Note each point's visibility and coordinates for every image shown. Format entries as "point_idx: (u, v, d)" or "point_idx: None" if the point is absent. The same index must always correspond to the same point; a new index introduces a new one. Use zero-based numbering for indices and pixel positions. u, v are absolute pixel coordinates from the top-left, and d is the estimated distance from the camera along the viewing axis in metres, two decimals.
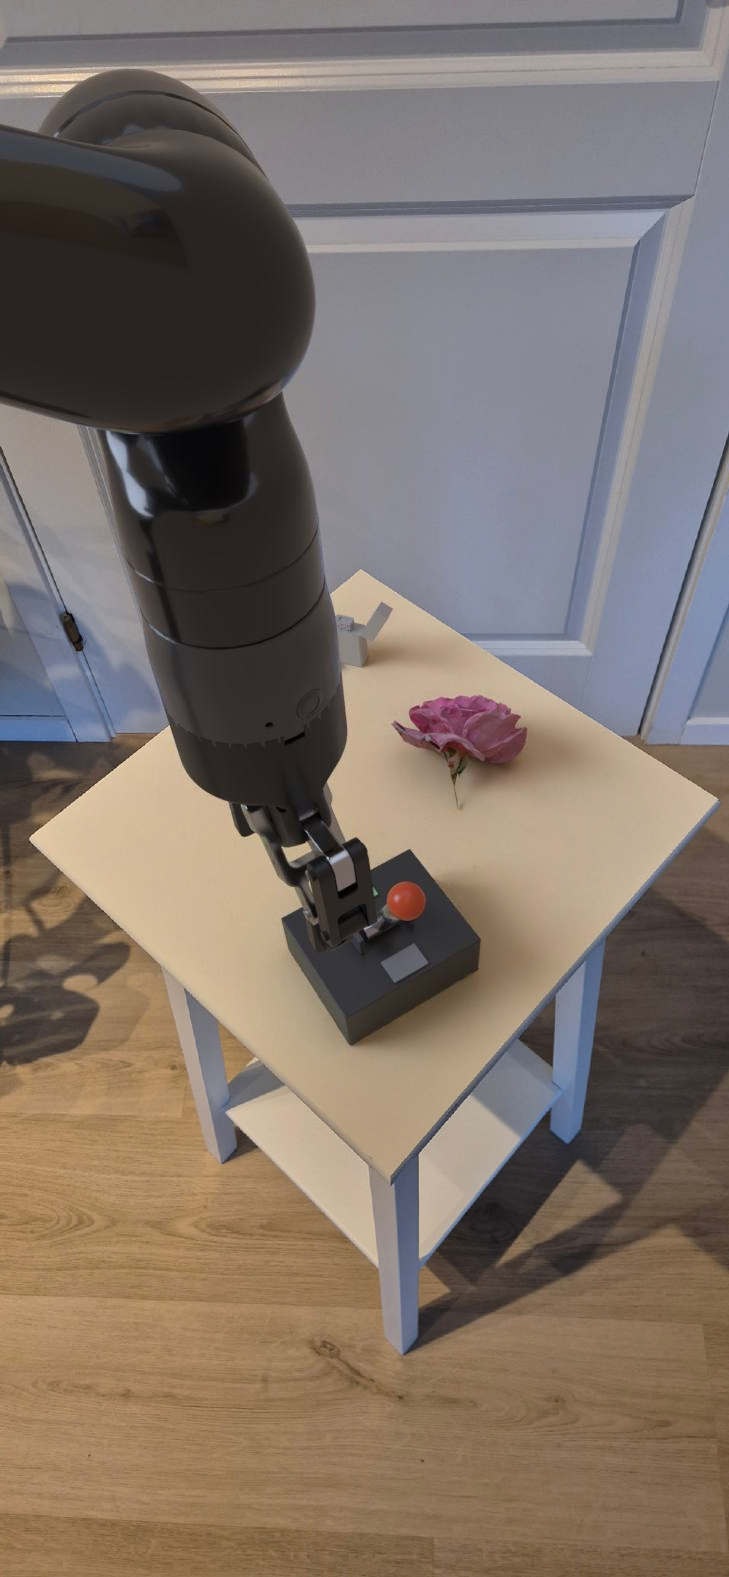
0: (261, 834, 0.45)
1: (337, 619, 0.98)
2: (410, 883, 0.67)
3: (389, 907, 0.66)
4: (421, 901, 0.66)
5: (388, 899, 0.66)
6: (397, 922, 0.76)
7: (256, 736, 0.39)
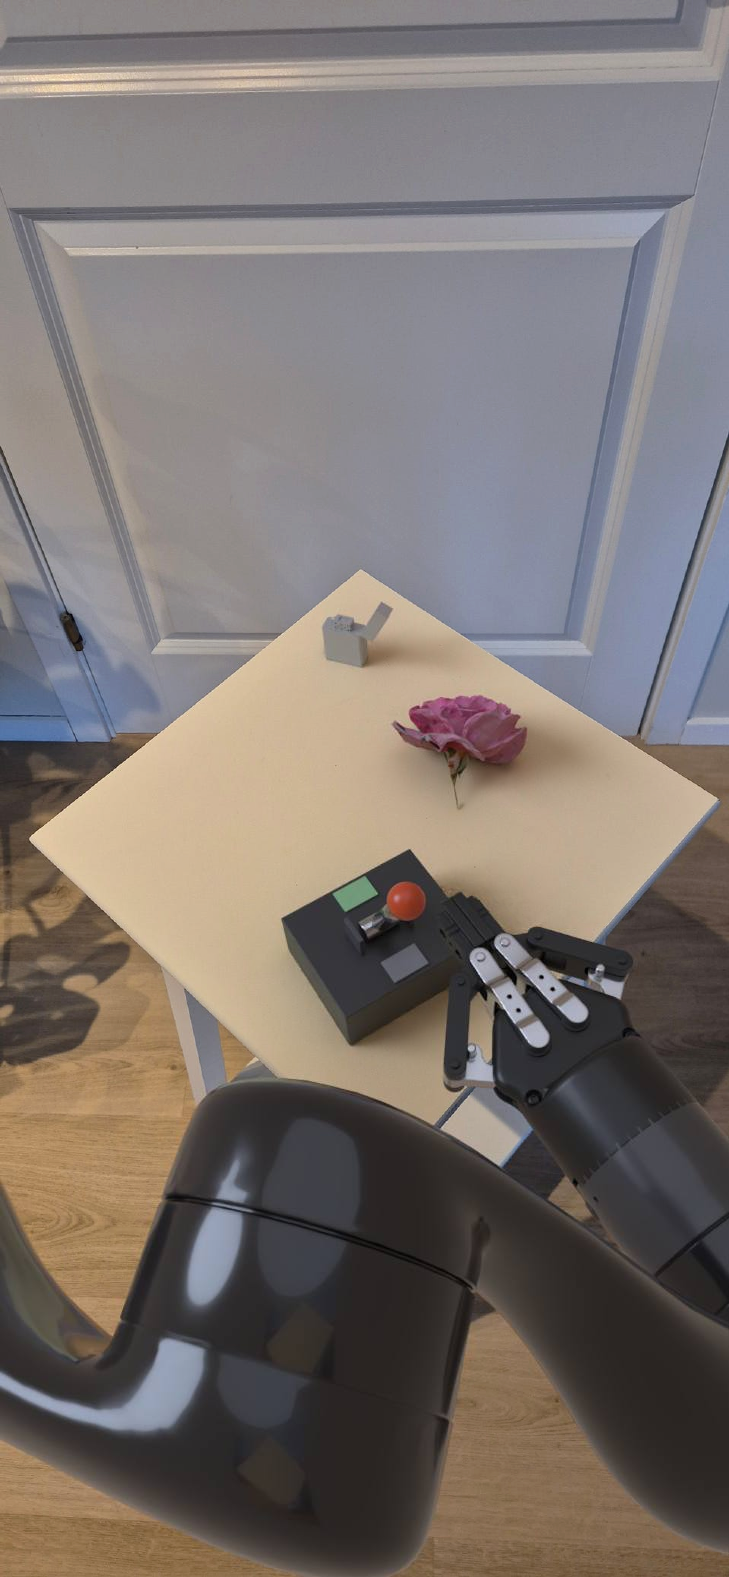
0: (518, 1028, 0.52)
1: (337, 619, 0.98)
2: (410, 883, 0.67)
3: (389, 907, 0.66)
4: (421, 901, 0.66)
5: (388, 899, 0.66)
6: (397, 922, 0.76)
7: (593, 1185, 0.48)
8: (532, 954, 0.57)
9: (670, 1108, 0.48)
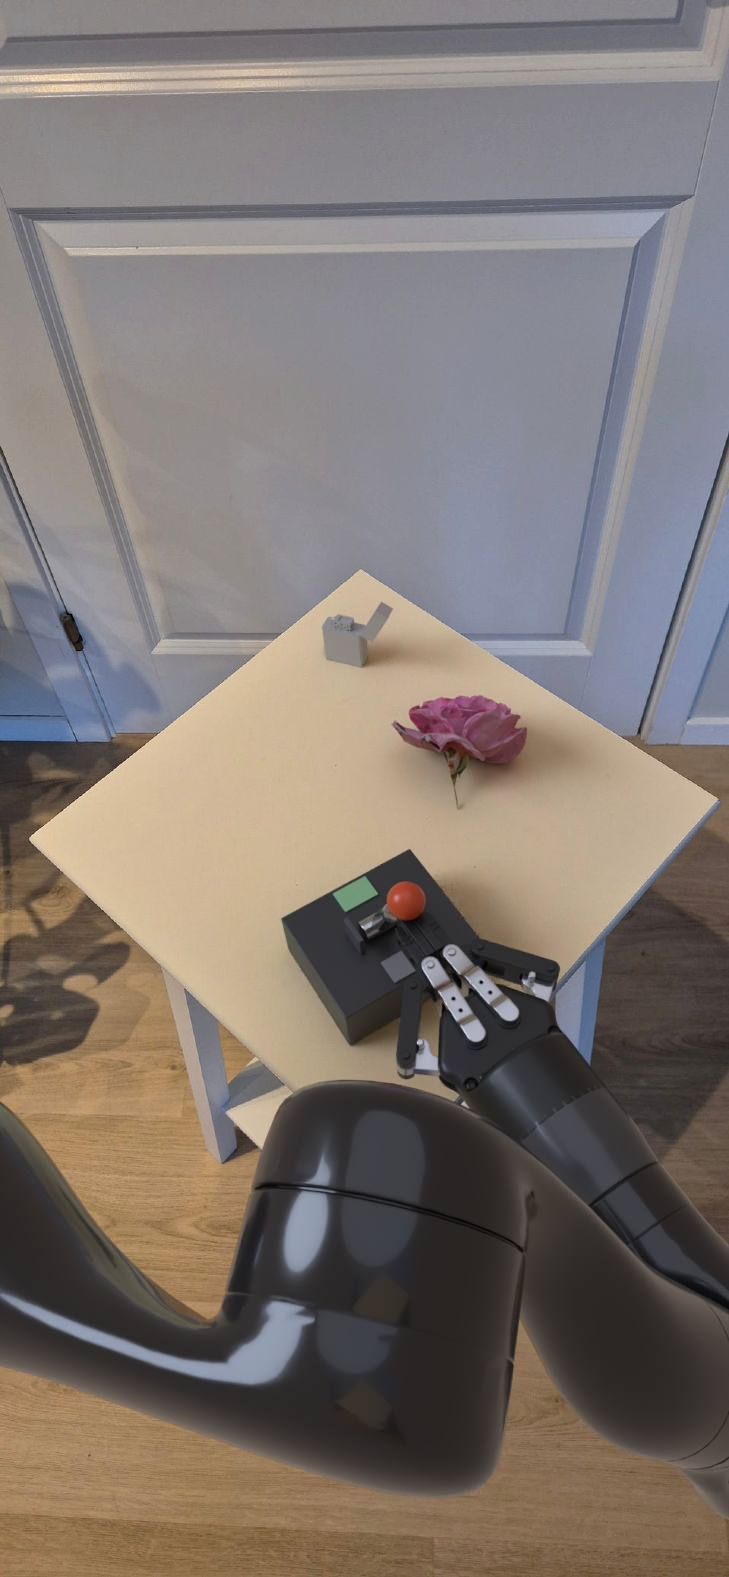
0: (459, 1025, 0.62)
1: (337, 619, 0.98)
2: (410, 883, 0.67)
3: (389, 907, 0.66)
4: (421, 901, 0.66)
5: (388, 899, 0.66)
6: None
7: None
8: (475, 962, 0.66)
9: (581, 1092, 0.57)
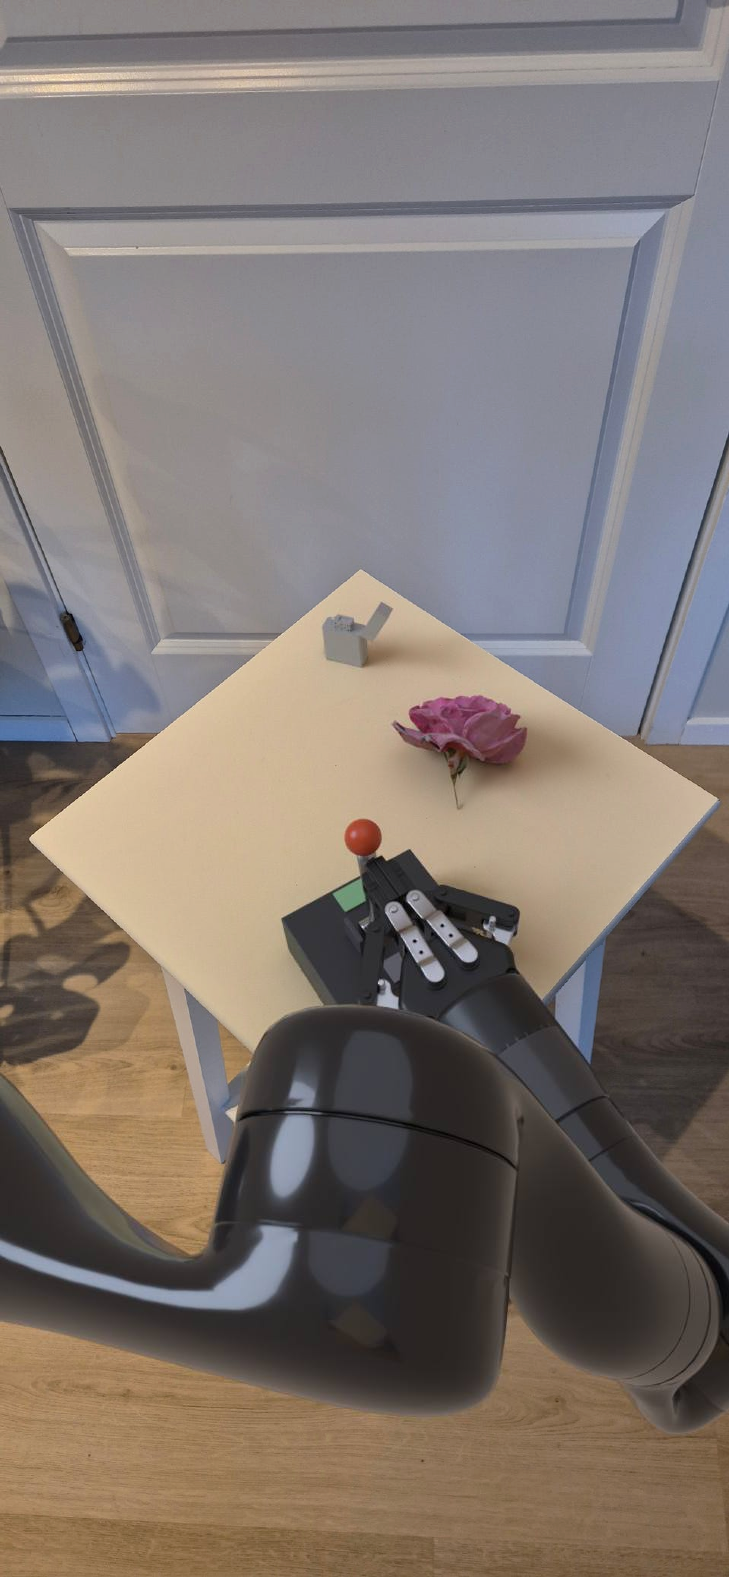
0: (419, 966, 0.64)
1: (337, 619, 0.98)
2: None
3: (345, 842, 0.69)
4: (373, 829, 0.68)
5: (344, 836, 0.69)
6: None
7: None
8: (438, 907, 0.68)
9: (534, 1029, 0.59)
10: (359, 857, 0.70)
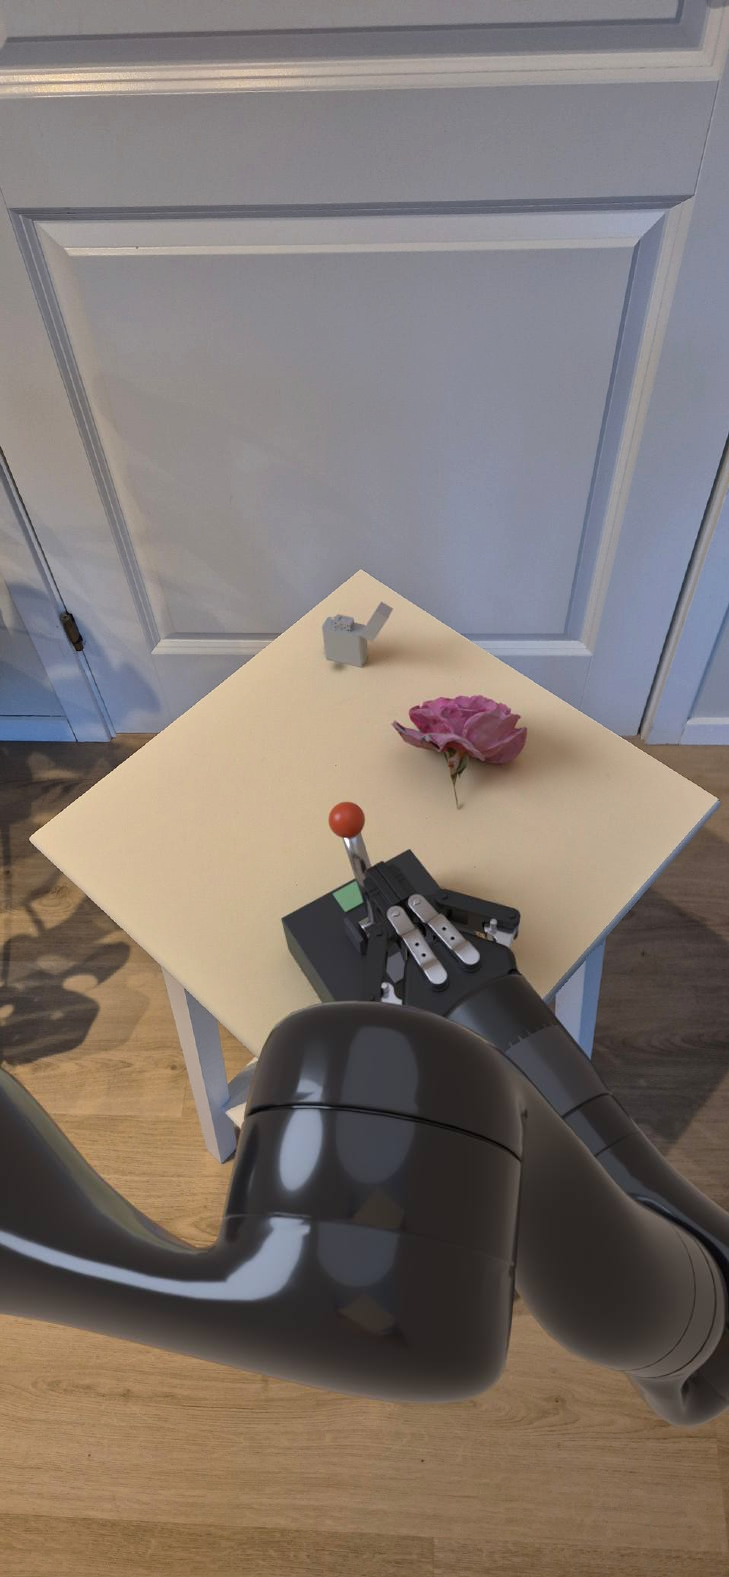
0: (422, 968, 0.64)
1: (337, 619, 0.98)
2: None
3: (329, 825, 0.71)
4: (354, 808, 0.70)
5: (328, 820, 0.71)
6: None
7: None
8: (440, 911, 0.69)
9: (537, 1028, 0.60)
10: (345, 841, 0.71)
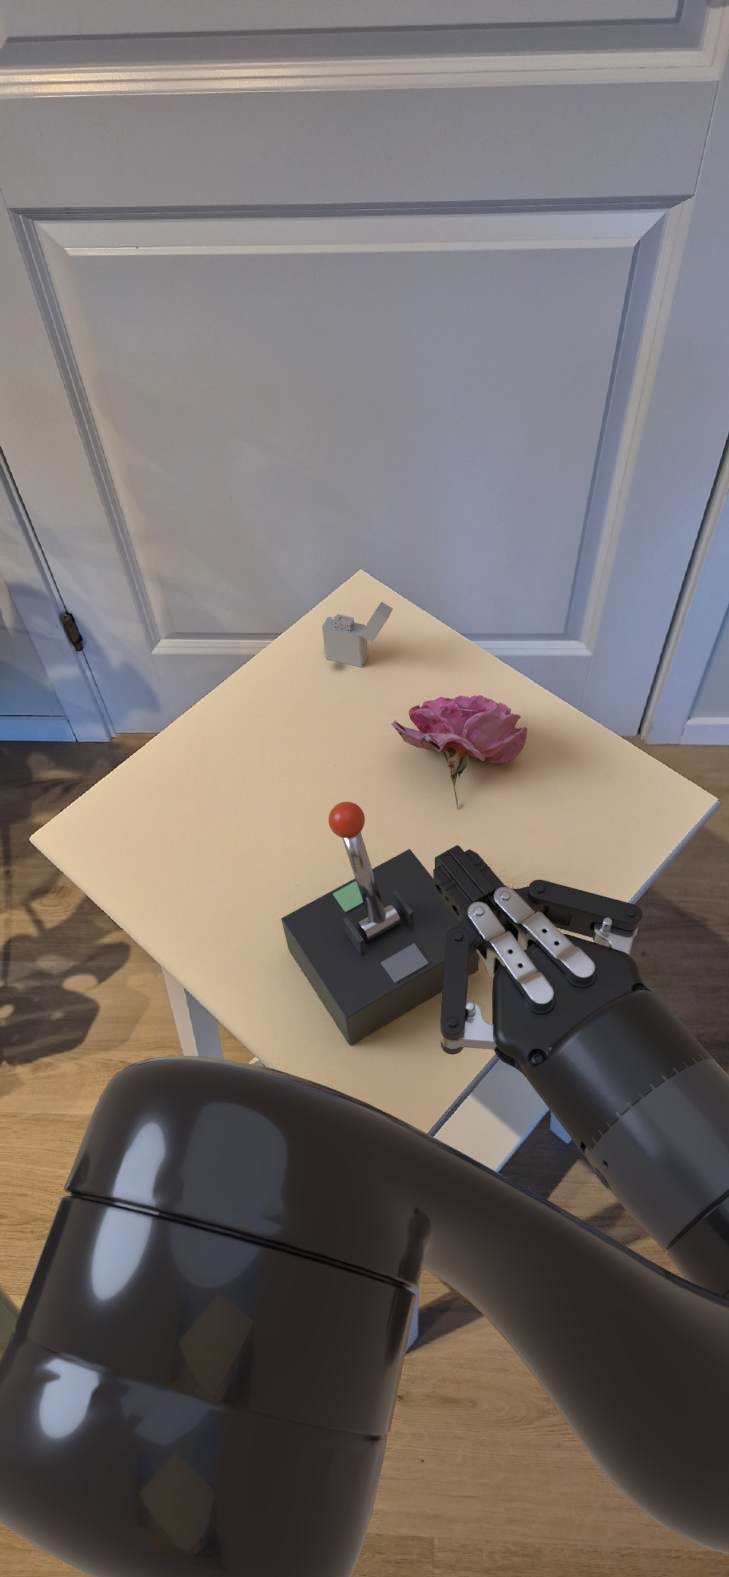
0: (519, 983, 0.49)
1: (337, 619, 0.98)
2: None
3: (329, 825, 0.71)
4: (354, 808, 0.70)
5: (328, 820, 0.71)
6: (395, 915, 0.76)
7: (603, 1148, 0.44)
8: (534, 909, 0.53)
9: (685, 1064, 0.44)
10: (345, 841, 0.71)
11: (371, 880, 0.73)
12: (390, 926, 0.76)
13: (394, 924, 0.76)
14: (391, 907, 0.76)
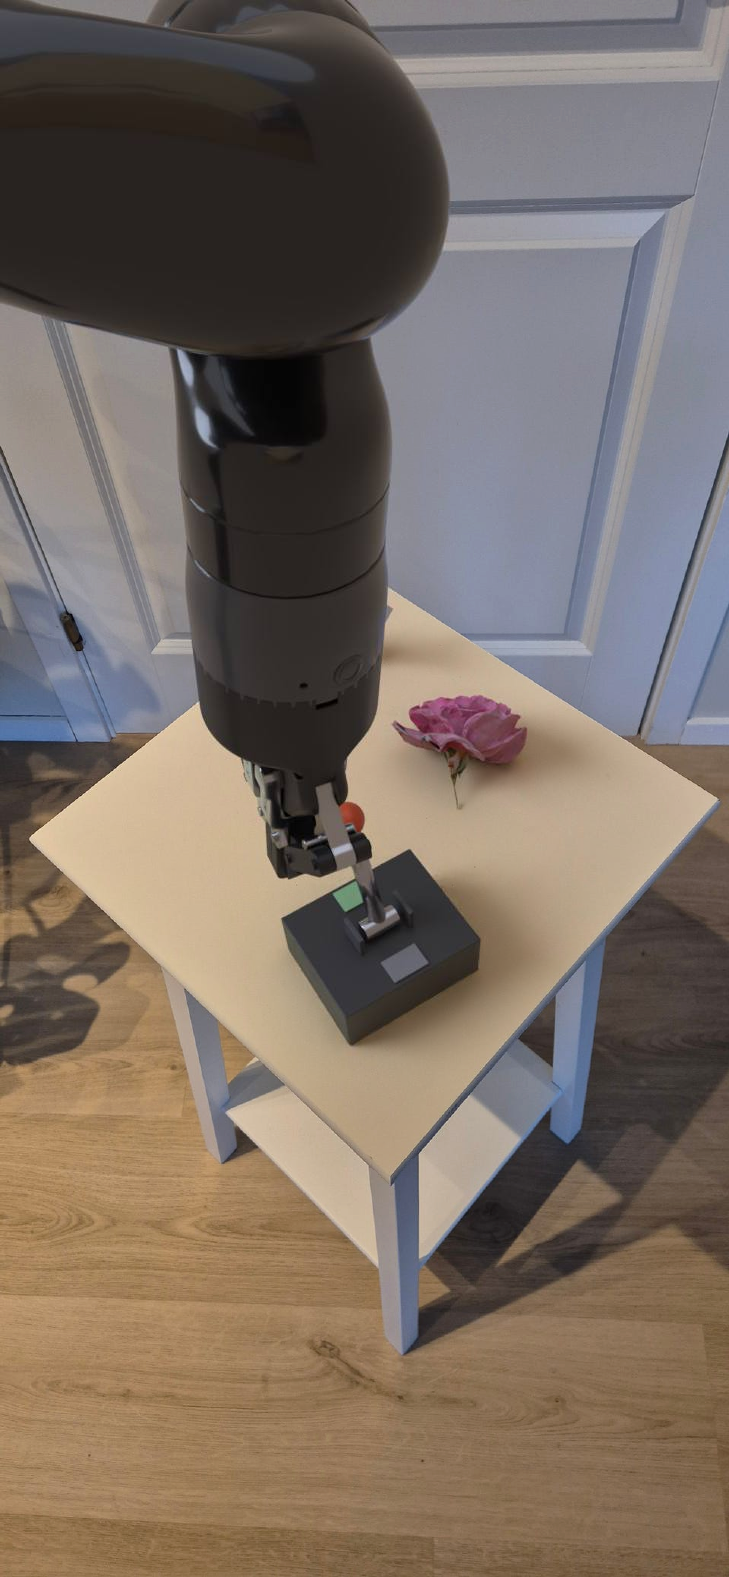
0: (267, 798, 0.44)
1: None
2: None
3: None
4: (354, 808, 0.70)
5: None
6: (395, 915, 0.76)
7: (288, 696, 0.36)
8: None
9: None
10: None
11: (371, 880, 0.73)
12: (390, 926, 0.76)
13: (394, 924, 0.76)
14: (391, 907, 0.76)
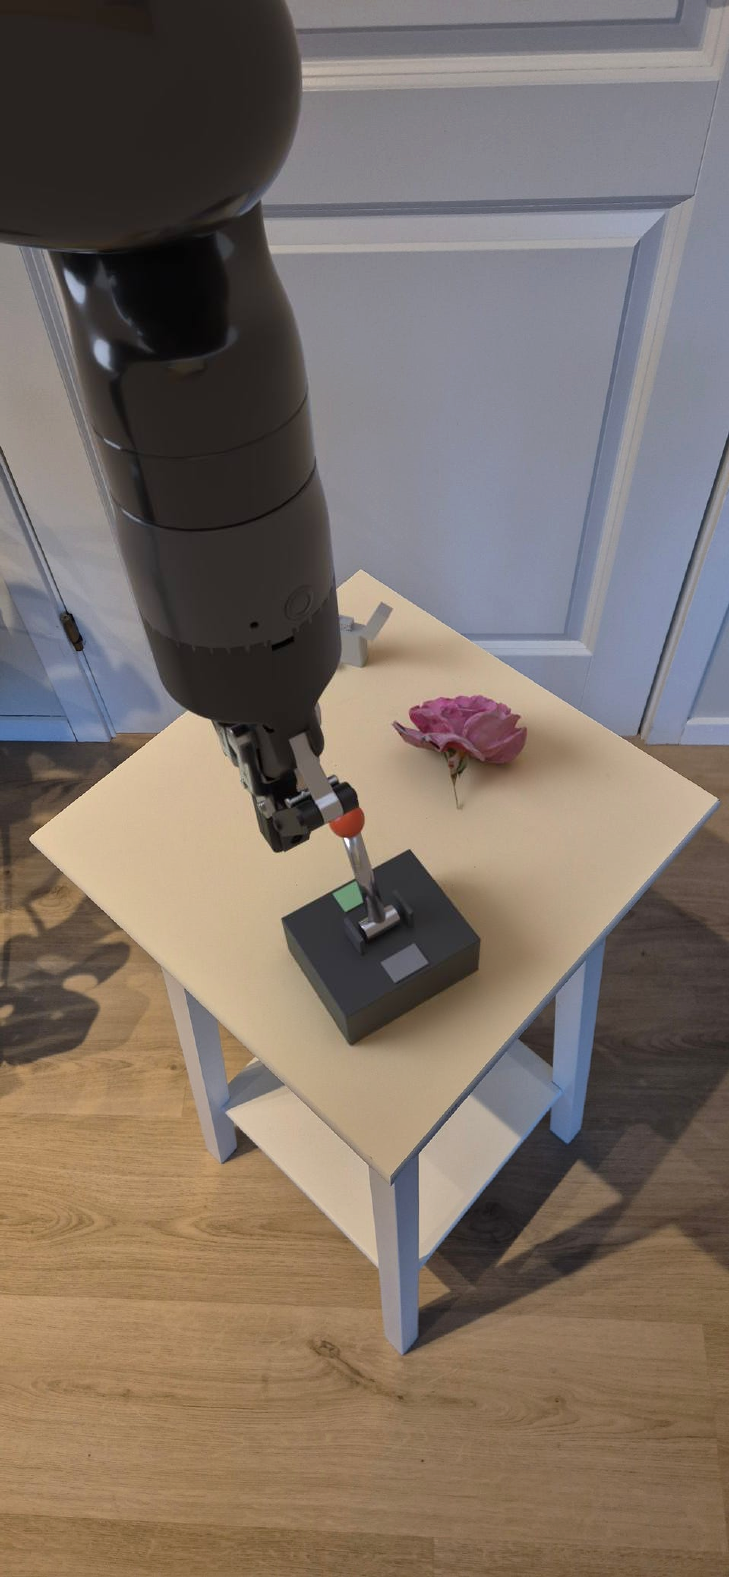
0: (244, 762, 0.42)
1: None
2: None
3: (329, 825, 0.71)
4: None
5: None
6: (395, 915, 0.76)
7: (240, 638, 0.35)
8: None
9: None
10: (345, 841, 0.71)
11: (371, 880, 0.73)
12: (390, 926, 0.76)
13: (394, 924, 0.76)
14: (391, 907, 0.76)
